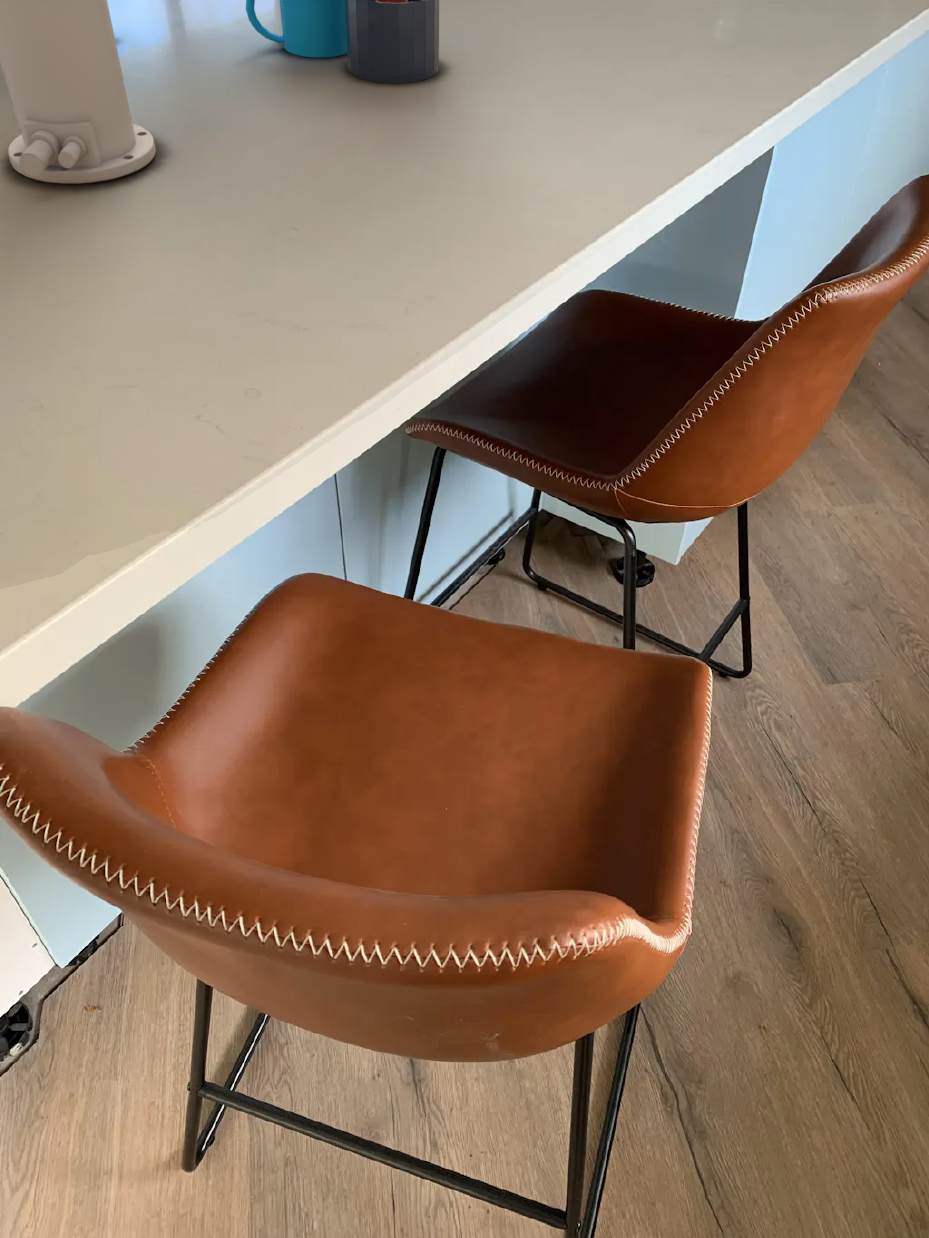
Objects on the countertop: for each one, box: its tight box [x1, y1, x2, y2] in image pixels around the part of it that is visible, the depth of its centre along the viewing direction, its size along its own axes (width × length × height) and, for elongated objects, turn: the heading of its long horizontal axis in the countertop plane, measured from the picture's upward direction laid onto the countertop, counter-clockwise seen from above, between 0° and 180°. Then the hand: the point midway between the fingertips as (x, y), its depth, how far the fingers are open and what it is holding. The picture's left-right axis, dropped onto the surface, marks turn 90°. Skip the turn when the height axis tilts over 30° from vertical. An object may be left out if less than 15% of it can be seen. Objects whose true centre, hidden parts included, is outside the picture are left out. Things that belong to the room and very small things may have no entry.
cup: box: [345, 0, 440, 84], centre depth 103 cm, size 10×10×8 cm
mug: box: [245, 0, 347, 58], centre depth 107 cm, size 12×8×8 cm
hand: (392, 18), depth 102 cm, fingers closed on car, 3 cm apart
